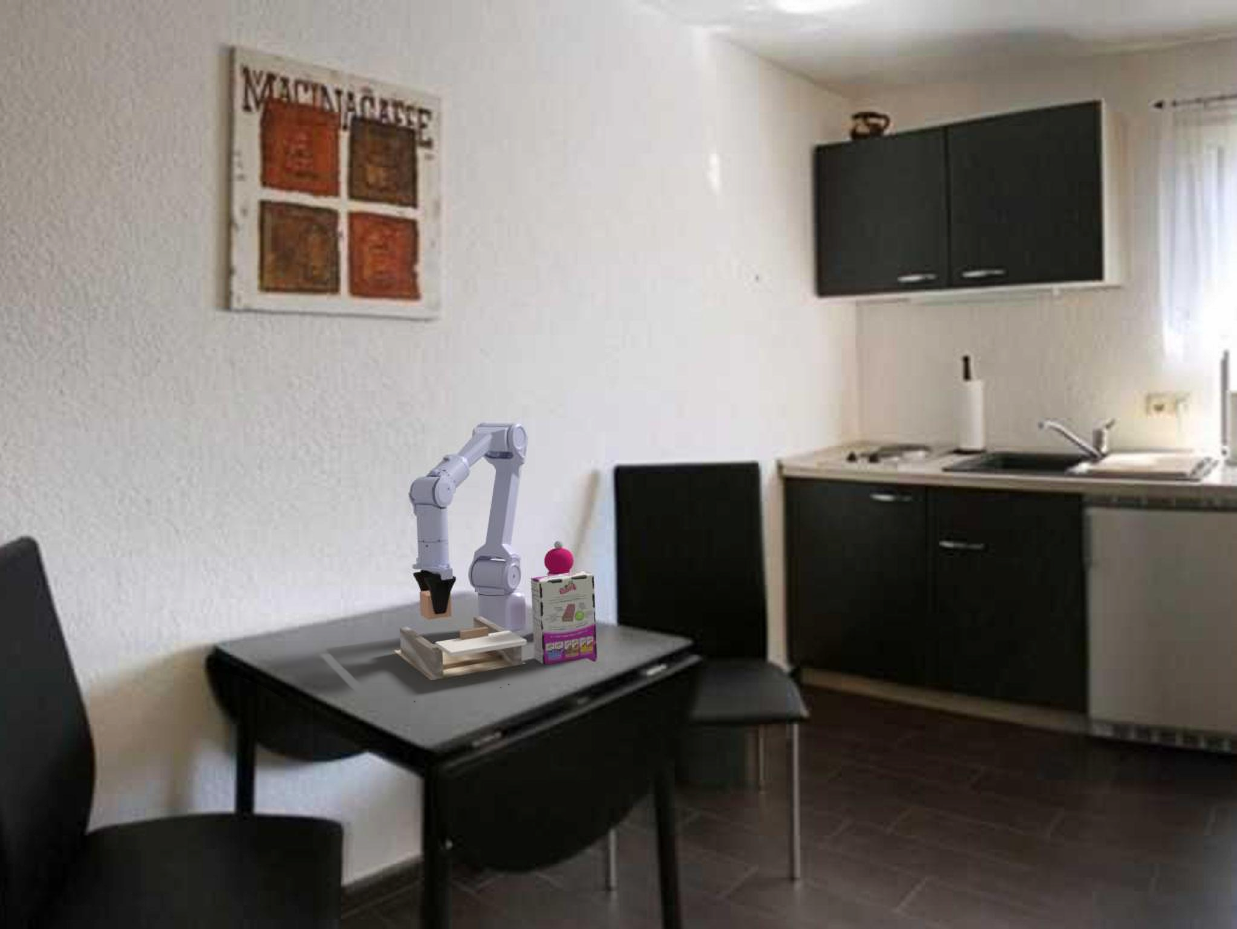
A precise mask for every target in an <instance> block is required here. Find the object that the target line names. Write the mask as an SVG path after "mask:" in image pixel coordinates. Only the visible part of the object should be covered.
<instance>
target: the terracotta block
mask: <svg viewBox="0 0 1237 929" xmlns="http://www.w3.org/2000/svg"><path fill="white" fill-rule="evenodd" d="M451 595H452V594H451V593H450V596H449V601H448V606H447V611H446V613H443V614H435V613H434V610H433V606H432V599H431V594H430V591H429V590H428V591H419V607H420V608H419V609H420V616H421V617H423V618H425V619H427V620H436V619H442V618H448V617H452V600H451V599H452V596H451Z"/></svg>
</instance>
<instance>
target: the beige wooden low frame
mask: <svg viewBox="0 0 1237 929" xmlns="http://www.w3.org/2000/svg"><path fill="white" fill-rule="evenodd" d="M481 627H487V628H488V633H489V634H490V633H496V632H503V631H507V630H505V629H503V628H502V627H500V626H498V625H496V624H494V623H492V622H491V621H489V620H487V619H485V618H483V617H481V616H479V615H478V616H474V617H473V629H474V628H481ZM399 637H400V638H399V640H400V649H396V650H394V652H395V653H396V654H397V655H398V656H400V657H401V658H402V659H404V661H406V662H407V663H408V664H410V665H411V666H412V667H413V668H415V669H417V671H418V672H420V673H421V674H422V675H424V676H425V677H426V678H428V680H430V681H435V680H441V679H447V678H451V677H457V676H463V675H469V674H474V673H480V672H486V671H490V670H496V669H497V670H498V669H503V668H508V667H509V668H510V667H513V666H519V665H524V664H525V665H526V662H524V661H523V656H522V655H523V652H522V651H523V650H522V647H523V645H522V646H516V647H510V648H504V649H498V650H492V651H485V652H479V653H473V654H467V655H461V656H455V657H450V656H449V655H448V654H446V653H445V652H443V651H442V650H440V649H439V648H437V647H436V643H432V642H430V641H429V640H427V639H426V638H424V637H423V636H422V635H420V634H419V633H418V632H416V631H414V630H413V629H411V628H410V627H409V626H405V627H399Z"/></svg>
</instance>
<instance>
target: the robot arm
mask: <svg viewBox="0 0 1237 929" xmlns="http://www.w3.org/2000/svg"><path fill="white" fill-rule="evenodd" d="M471 434H472V435H471V437H470V439H469V440H468V441H467V442H466V443H465V445H464V446H463V447H462V448H461V449H460V450H459V451H458V453H457V454H454V453H453V454H452V453H451V454H445V455H444V456H443V457H442V460H441V461H440V462H438V464H437V465H436V466H435V467H434V468H431V469H430V471H429V473H427V474H426V476H422V475H421V476H418V477H416V478H415V480H413V481H412V483H411V485H410V487H409V488H410V489H409V492H408V493H407V494H408V498H409V502H410V503H411V505H412V507H413V514H414V516H416V536H417V537H416V538H417V539H416V540H417V557H416V563H415V564H412V565H411V566H412V569H413V570H420V571H417V572H413V573H412V575H413V578H414V579H415V580H416V582H417V585H418V588H419V590H420V591H419V592H421V591H428V590H429V591H430V594H431V599H432V606H433V610H434V613H435V614H443V613H446V611H447V606H448V601H449V596H450V593H451V592H452V590H453V587H454V585H455V583H456V581H457V577H456V576H455V575H453V574H454V572H453V568H452V567H451V562H450V550H449V547H450V546H449V525H448V524H449V522H448V506H450V505H451V504H452V502H453V498H454V494H455V493H456V490H457V489H458V487H459V486H460V485H462V483H464V481H466V479H468V477H469V476H470V473H471V472H470V471H471V470H470V468H471V467H472V466H473V465H474V464H476V463H477V462H478V461H479V460H480V459H481V458H484V459H485V460H486V462H487V463H489V464H490V465H492V466H493V467H494V469H495V475H494V482H493V490H492V496H491V503H490V510H489V516H488V523H487V530H486V538H485V543H484V544H483V545H481V546H480V547H479V548H477V549H476V550H474V554H473V559H472V561H471V563H470V566H469V568H468V573H467V574H468V582H469V584H470V585H471V588H474V593H477V603H478V604H477V606H478V608H477V609H478V616H481V617H483V618H485V619H487V620H489V621H491V622H492V623H494V624H496V625H498V626H500V627H502V628H503V629H505V630H507V631H511V632H514V631H519V630H520V631H521V630H526V629H527V607H526V605H527V603H526V598H525V595H524V592H523V591H522V590H521V589H520V588H518V587H519V586H520V583H521V580H522V571H521V560H522V559H521V558H522V557H521V556H520V555H519V554H518V552H516V551H515V550H514V549H513V547H512V546H511V545H512V539H513V532H514V525H515V517H516V511H517V503H518V496H519V489H520V482H521V475H522V468H523V465H524V464H525V463H526V458H527V457H526V456H527V447H528V443H529V442H528V441H529V436H528V435H527V432H526V429H525V427H524V426H523V424H522V423H521V422H506V423H505V422H504V423H503V422H500V423H499V422H496V423H493V422H482V421H481V422H480V423H478V424H477V426H476V427H475V428H473V429H472V433H471Z"/></svg>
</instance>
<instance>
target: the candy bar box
mask: <svg viewBox="0 0 1237 929" xmlns="http://www.w3.org/2000/svg"><path fill="white" fill-rule="evenodd" d="M571 572H572V571H571ZM530 587H531V588H530V591H531V611H532V613H531V614H532V634H533V638H532V639H533V653H534V656H533V657H534V660H536V661H537V662H539V663H541V664H542V665H548V664H554V663H561V662H565V661H566V662H567V661H571V660H578V659H582V658H583V659H585V658H586V659H588V660H589V661H596V660H598V647H597V646H598V645H597V643H598V642H597V625H596V624H597V623H596V596H595V575H594V574H593V573H590V572H588V571H585V570H580V571H575V572H574V571H573V572H572V573H564V574H557V575H550V576H548V575H544V576H536V577H531V578H530Z"/></svg>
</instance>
